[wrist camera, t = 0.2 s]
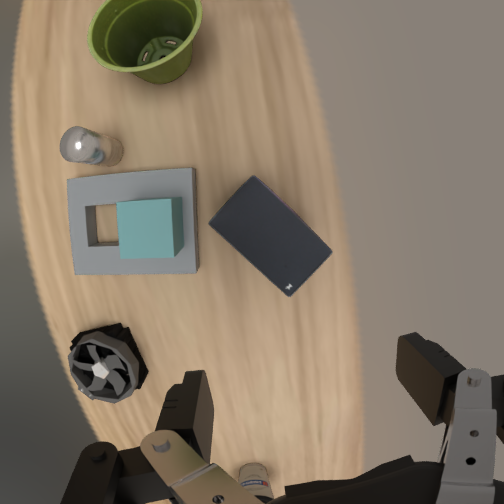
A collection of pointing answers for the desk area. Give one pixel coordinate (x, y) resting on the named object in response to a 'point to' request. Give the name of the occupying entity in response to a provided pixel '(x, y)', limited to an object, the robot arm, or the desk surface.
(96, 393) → the cpu cooler
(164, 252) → the teal cube
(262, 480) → the coffee cup
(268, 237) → the small box
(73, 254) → the peg board
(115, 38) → the plant pot
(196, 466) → the robot arm
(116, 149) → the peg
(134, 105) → the desk surface
